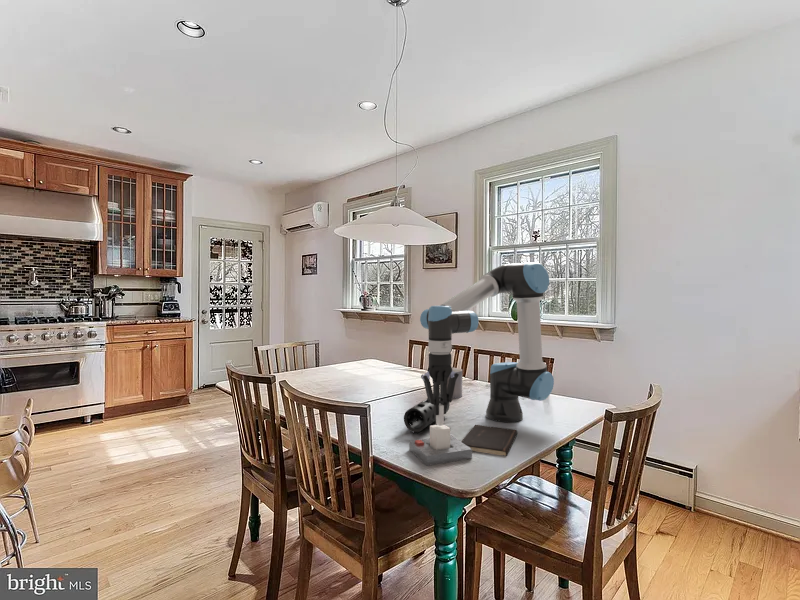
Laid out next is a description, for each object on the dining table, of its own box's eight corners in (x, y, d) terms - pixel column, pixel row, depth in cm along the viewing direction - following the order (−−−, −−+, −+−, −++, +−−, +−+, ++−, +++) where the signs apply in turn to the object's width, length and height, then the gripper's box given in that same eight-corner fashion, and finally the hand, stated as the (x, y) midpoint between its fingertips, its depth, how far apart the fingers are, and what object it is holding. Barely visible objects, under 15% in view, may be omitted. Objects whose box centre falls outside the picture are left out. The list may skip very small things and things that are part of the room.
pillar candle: (439, 395, 222) (439, 366, 221) (455, 392, 226) (456, 364, 225) (449, 399, 213) (449, 369, 212) (466, 397, 217) (466, 367, 217)
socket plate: (451, 443, 152) (451, 433, 151) (472, 458, 138) (472, 446, 138) (409, 450, 146) (409, 438, 146) (426, 465, 133) (426, 453, 133)
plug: (443, 450, 145) (443, 423, 145) (450, 455, 141) (450, 428, 140) (429, 452, 143) (429, 425, 143) (436, 457, 139) (436, 430, 139)
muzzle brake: (402, 433, 163) (402, 406, 163) (430, 414, 188) (430, 390, 188) (426, 437, 159) (426, 409, 159) (451, 416, 184) (451, 392, 184)
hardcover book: (458, 450, 147) (458, 444, 147) (475, 430, 168) (475, 424, 168) (506, 457, 140) (506, 450, 140) (517, 435, 161) (517, 429, 161)
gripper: (426, 355, 135) (426, 430, 136) (463, 353, 140) (463, 425, 141) (417, 352, 142) (417, 423, 143) (452, 350, 147) (452, 418, 148)
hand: (439, 424), depth 142 cm, fingers closed
